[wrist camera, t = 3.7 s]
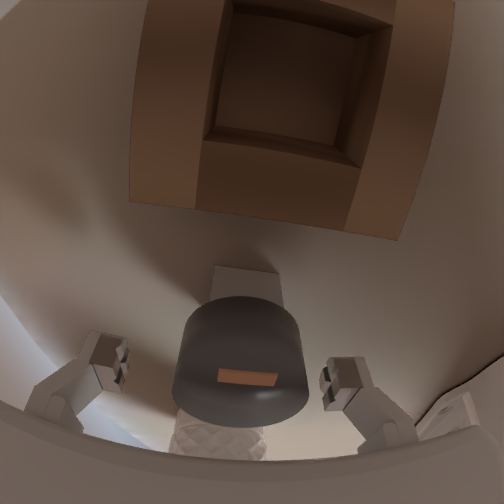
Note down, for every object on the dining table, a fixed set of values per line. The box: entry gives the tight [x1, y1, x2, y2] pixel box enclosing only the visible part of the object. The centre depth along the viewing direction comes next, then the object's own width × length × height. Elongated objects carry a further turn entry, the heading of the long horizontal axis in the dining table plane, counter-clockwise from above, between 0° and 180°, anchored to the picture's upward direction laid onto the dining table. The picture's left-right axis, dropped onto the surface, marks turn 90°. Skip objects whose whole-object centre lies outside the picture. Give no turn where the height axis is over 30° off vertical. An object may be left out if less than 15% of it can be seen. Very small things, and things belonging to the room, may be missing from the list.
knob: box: [172, 265, 309, 428], centre depth 12 cm, size 5×5×6 cm
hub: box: [129, 0, 455, 241], centre depth 8 cm, size 8×8×4 cm
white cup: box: [168, 408, 268, 461], centre depth 17 cm, size 8×8×10 cm
